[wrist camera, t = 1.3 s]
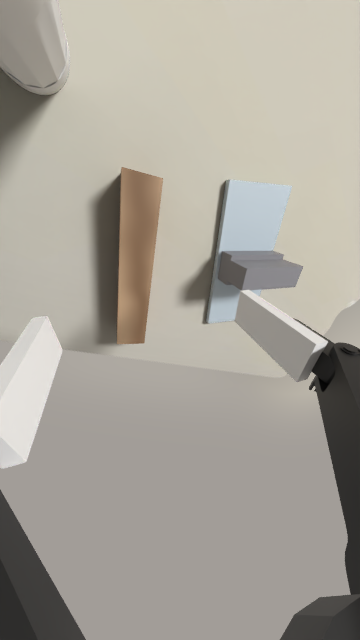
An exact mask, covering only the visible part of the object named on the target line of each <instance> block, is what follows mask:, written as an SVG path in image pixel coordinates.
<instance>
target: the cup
mask: <svg viewBox="0 0 360 640" xmlns="http://www.w3.org/2000/svg"><path fill="white" fill-rule="evenodd" d="M0 67H1V68H2V70H3V71H4V72H5V73H6V74H7V75H8V76H9V77H10V78H11V79H12V80H13V81H14V82H16V83H17V84H18V85H20V86H21V87H22V88H24V89H26V90H28V91H30V92H32V93H35V94H39V95H51V94H54V93H56V92H58V91H59V90H60V89H61V88H62V87H63V86H64V84H65V83H66V80H67V78H68V75H69V70H70V52H69V45H68V41H67V37H66V34H65V30H64V26H63V21H62V16H61V10H60V5H59V0H0Z"/></svg>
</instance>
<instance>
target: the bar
mask: <svg viewBox="0 0 360 640" xmlns="http://www.w3.org/2000/svg"><path fill="white" fill-rule="evenodd" d="M162 183H163V178H159V177H156V176H152V175H149V174H145V173H141V172H138V171H134V170H131V169H127V168H123V167H122V169H121V181H120V221H119V261H118V301H117V344H138V343H144V340H145V331H146V323H147V314H148V305H149V297H150V288H151V279H152V270H153V262H154V253H155V244H156V235H157V227H158V218H159V209H160V201H161V192H162Z"/></svg>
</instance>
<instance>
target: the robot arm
mask: <svg viewBox="0 0 360 640" xmlns="http://www.w3.org/2000/svg"><path fill="white" fill-rule="evenodd" d="M235 322H236V323H237V324H238V325H239V326H240V327H241V328H242V329H243V330H244V331H245V332H246V333H247V334H248V335H249V336H250V337H251V338H252V339H253V340H254V341H255V342H256V343H257V344H258V345H259V346H260V347H262V348H263V349H264V350H265V351H266V352H267V353H268V354H269V355H270V356H271V357H272V358H273V359H274V360H275V361H276V362H277V363H278V364H279V365H280V366H281V367H282V368H283V369H284V370H285V371H286V372H287V373H288V374H289V375H290V376H291V377H292V378H293V379H294V380H295V381H296V382H299V381H302V380H306V379H307V378H308V377H309V375H310V373H311V371H312V372H313V373H314V374H315V375H316V376H315V378H314V380H313V381H312V383H311V385H310V386H309V390H312V388H313V386H315V387H316V389H315V390H314V391H316V392H317V396H318V400H319V405H320V409H321V414H322V419H323V423H324V428H325V433H326V437H327V442H328V446H329V451H330V455H331V460H332V464H333V469H334V474H335V478H336V483H337V487H338V492H339V496H340V501H341V506H342V510H343V515H344V519H345V523H346V528H347V534H348V543H347V547H346V551H345V565H346V572H347V578H348V582H349V588H350V593H351V595H343V596H331V597H320V598H318V599H317V600H315V601H314V602H312V603H311V604H309V605H308V606H306V607H305V608H304V609H302V610H301V611H299V612H298V613H296V614H295V615H294V616H293V618H292V620H291V622H290V623H289V625H288V627H287V629H286V630H285V632H284V634H283V635H282V637H281V639H280V640H360V349H359V348H357V347H355V346H353V345H350V344H347V343H336V344H334V343H333V342H331V341H330V340H328V339H327V338H325V337H323V336H322V335H320V334H319V333H317V332H316V331H314V330H312V329H311V328H310V327H308V326H306V325H305V324H303V323H302V322H300V321H299V320H296V319H294V318H291V317H290V316H288V315H287V314H285V313H284V312H282V311H281V310H279V309H278V308H276V307H275V306H273V305H272V304H270V303H268V302H267V301H265V300H264V299H262V298H261V297H259V296H258V295H256V294H255V293H253V292H252V291H250V290H243V291H240V295H239V300H238V306H237V311H236V316H235ZM62 351H63V350H62V348H61V345H60V343H59V341H58V339H57V336H56V334H55V332H54V330H53V327H52V325H51V323H50V321H49V318H48V316H42V317H34V318H32V319H31V321H30V322H29V324H28V325H27V327H26V328H25V330H24V331H23V332H22V334H21V335H20V337H19V338H18V340H17V341H16V343H15V344H14V346H13V347H12V349H11V350H10V352H9V353H8V355H7V356H6V358H5V359H4V361H3V362H2V364H1V365H0V467H1V468H2V469H3V468H7V467H10V466H14V465H17V464H21V463H24V462H26V461H27V458H28V455H29V452H30V449H31V446H32V443H33V440H34V437H35V433H36V431H37V428H38V425H39V422H40V418H41V415H42V412H43V409H44V406H45V403H46V400H47V397H48V394H49V391H50V388H51V385H52V382H53V379H54V376H55V373H56V370H57V367H58V363H59V361H60V358H61V354H62ZM0 640H86V639H85V637H84V636H83V634H82V632H81V630H80V629H79V627H78V625H77V623H76V622H75V620H74V618H73V616H72V615H71V613H70V611H69V609H68V607H67V606H66V604H65V603H64V600H63V599H62V597H61V596H60V594H59V592H58V590H57V588H56V586H55V585H54V583H53V581H52V580H51V578H50V576H49V574H48V572H47V571H46V569H45V567H44V566H43V564H42V562H41V560H40V558H39V557H38V555H37V553H36V551H35V550H34V548H33V546H32V544H31V543H30V541H29V540H28V537H27V536H26V534H25V532H24V530H23V529H22V527H21V525H20V523H19V522H18V520H17V518H16V517H15V515H14V513H13V511H12V509H11V508H10V506H9V504H8V502H7V501H6V499H5V497H4V495H3V494H2V492H1V490H0Z"/></svg>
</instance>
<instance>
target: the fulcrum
mask: <svg viewBox="0 0 360 640" xmlns="http://www.w3.org/2000/svg"><path fill="white" fill-rule="evenodd" d="M291 188H292V186H288V185H278V184H268V183H258V182H248V181H239V180H226V185H225V192H224V199H223V206H222V213H221V220H220V227H219V234H218V241H217V248H216V255H215V262H214V269H213V276H212V283H211V290H210V297H209V304H208V311H207V318H206V321H207V323H216V322H225V321H233V320H235V316H236V311H237V306H238V300H239V295H240V291H243V290H250V291H252V292H253V293H255V294H256V295H258V296H260V293H261V290H263V289H276V288H289V287H295V286H296V284H297V281H298V279H299V276H300V274H301V271H302V268H303V266H300V265H297V264H294V263H292V262H289V261H286V260H283V256H284V255H283V254H280V253H277V252H274V251H273V249H274V246H275V242H276V239H277V236H278V232H279V229H280V225H281V222H282V219H283V215H284V212H285V209H286V205H287V202H288V198H289V195H290V192H291Z"/></svg>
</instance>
